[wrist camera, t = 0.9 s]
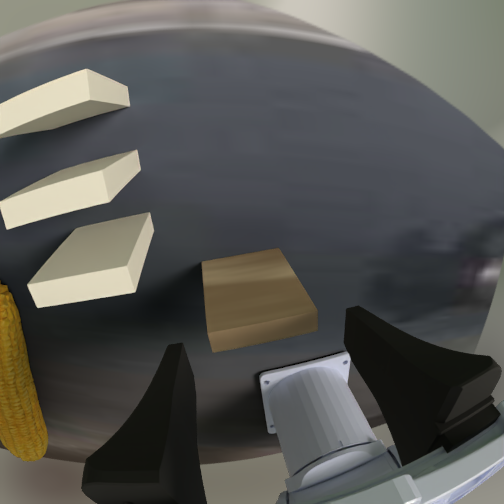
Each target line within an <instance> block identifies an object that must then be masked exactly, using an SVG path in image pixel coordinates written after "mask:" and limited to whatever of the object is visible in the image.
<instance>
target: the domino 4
mask: <svg viewBox="0 0 504 504" xmlns="http://www.w3.org/2000/svg"><path fill="white" fill-rule="evenodd" d="M202 274H203V287H204V299H205V310H206V321H207V332H208V336H209V340H210V344H211V348H212V352H213V353H214V352H219V351H225V350H230V349H236V348H241V347H246V346H251V345H256V344H261V343H266V342H271V341H275V340H280V339H284V338H289V337H293V336H297V335H302V334H306V333H310V332H314V331H318V310H317V309H316V307H315V305H314V304H313V302H312V301H311V299H310V297H309V296H308V294H307V292H306V291H305V289H304V288H303V286H302V284H301V283H300V281H299V280H298V278H297V276H296V275H295V273H294V271H293V270H292V268H291V267H290V265H289V263H288V262H287V260H286V259H285V257H284V256H283V254H282V252H281V251H280V249H279V248H275V249H270V250H264V251H259V252H253V253H248V254H242V255H237V256H231V257H225V258H220V259H214V260H209V261H203V262H202Z"/></svg>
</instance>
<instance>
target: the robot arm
mask: <svg viewBox="0 0 504 504" xmlns="http://www.w3.org/2000/svg"><path fill="white" fill-rule="evenodd" d="M344 345H345V347H346V349H347V352H342V353H339V354H335V355H332V356H328V357H325V358H321V359H317V360H313V361H309V362H305V363H301V364H297V365H293V366H289V367H285V368H280V369H276V370H271V371H267V372H263V373H261V374H260V375H259V379H260V385H261V392H262V398H263V405H264V411H265V417H266V423H267V430H268V433H270V434H273V433H277V436H278V439H279V442H280V446H281V449H282V452H283V456H284V459H285V462H286V466H287V469H288V472H289V476H290V478H288V479H286V480H285V483H286V487H287V491H284V492H282V493H280V495H279V498H278V500H277V502H276V504H453V503H455V502H456V501H458V500H459V499H461V498H462V497H464V496H465V495H467V494H468V493H469V492H471V491H472V490H474V489H475V488H476V487H478V486H479V485H480V484H482V483H483V482H484V481H486V480H487V479H488V478H489V477H491V476H492V475H493V474H495V473H496V472H497V471H498V470H500V469H501V468H502V467H503V466H504V400H503V401H502V402H500V403H499V404H498V405H497V406H496V407H495V406H494V405H493V404H492V403H493V402H494V398H493V397H492V396H491V393H492V392H493V390H494V388H495V386H496V384H497V383H498V381H499V379H500V376H501V372H502V370H501V367H500V366H499V365H498V364H497V363H496V362H495V361H494V360H493V359H492V358H491V357H490V356H484V355H475V354H468V353H463V352H458V351H453V350H449V349H446V348H442V347H439V346H436V345H433V344H430V343H428V342H425V341H423V340H420V339H418V338H416V337H413V336H411V335H409V334H407V333H405V332H403V331H401V330H399V329H398V328H396V327H394V326H392V325H390V324H389V323H387V322H385V321H384V320H382V319H380V318H379V317H377V316H375V315H374V314H372V313H370V312H369V311H367V310H365V309H364V308H362V307H360V306H355V307H351V308H347V309H346V320H345V333H344ZM350 359H351V360H352V362H353V364H354V365H355V367H356V369H357V370H358V372H359V373H360V375H361V376H362V378H363V380H364V381H365V383H366V384H367V386H368V388H369V389H370V391H371V392H372V394H373V396H374V397H375V399H376V401H377V403H378V405H379V407H380V409H381V411H382V414H383V416H384V418H385V420H386V423H387V425H388V428H389V430H390V432H391V435H392V438H393V440H394V443H395V445H392V446H390V447H388V448H387V449H386V447H385V445H384V444H383V442H382V440H381V439H379V440H377V439H376V437H375V435H374V433H373V431H372V429H371V428H370V426H369V424H368V422H367V420H366V418H365V416H364V415H363V413H362V411H361V409H360V407H359V405H358V403H357V402H356V400H355V398H354V396H353V394H352V392H351V391H350V389H349V387H348V385H347V382H348V375H349V367H350ZM81 489H82V491H83V492H84V494H85V495H86V496H87V497H89V498H90V499H91V500H93V501H94V502H95V503H97V504H207V501H206V497H205V491H204V486H203V481H202V475H201V469H200V463H199V456H198V449H197V433H196V390H195V381H194V375H193V372H192V369H191V366H190V363H189V360H188V357H187V354H186V351H185V348H184V345H183V343H177V344H171V345H168V346H167V348H166V351H165V354H164V356H163V358H162V361H161V363H160V365H159V368H158V370H157V372H156V374H155V376H154V378H153V380H152V382H151V384H150V386H149V387H148V389H147V391H146V393H145V394H144V396H143V398H142V399H141V401H140V403H139V404H138V406H137V407H136V409H135V410H134V411H133V413H132V414H131V415H130V417H129V418H128V419H127V421H126V422H125V423H124V424H123V426H122V427H121V428H120V429H119V430H118V431H117V432H116V433H115V434H114V435H113V436H112V437H111V438H110V439H109V440H108V441H107V442H106V443H105V444H104V445H103V446H102V447H101V448H99V449H98V450H97V451H96V452H95V453H93V454H92V455H91V456H90V457H88V458H87V459H86V463H85V467H84V471H83V479H82V487H81Z"/></svg>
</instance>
